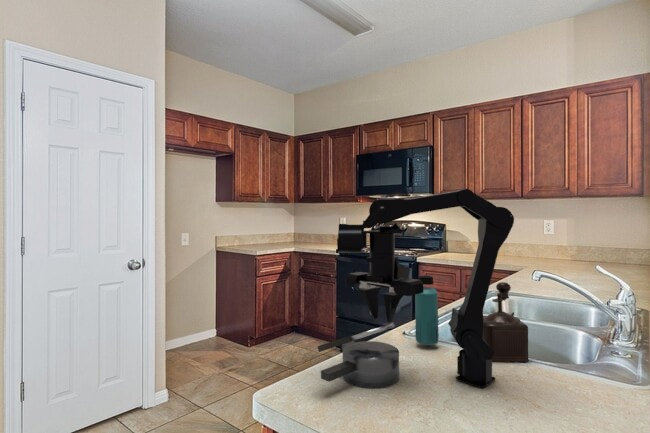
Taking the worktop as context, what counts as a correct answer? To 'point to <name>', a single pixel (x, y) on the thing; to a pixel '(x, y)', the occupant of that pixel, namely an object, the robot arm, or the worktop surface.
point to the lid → (353, 337)
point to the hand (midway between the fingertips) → (382, 320)
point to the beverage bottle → (426, 313)
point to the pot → (366, 365)
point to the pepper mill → (506, 332)
